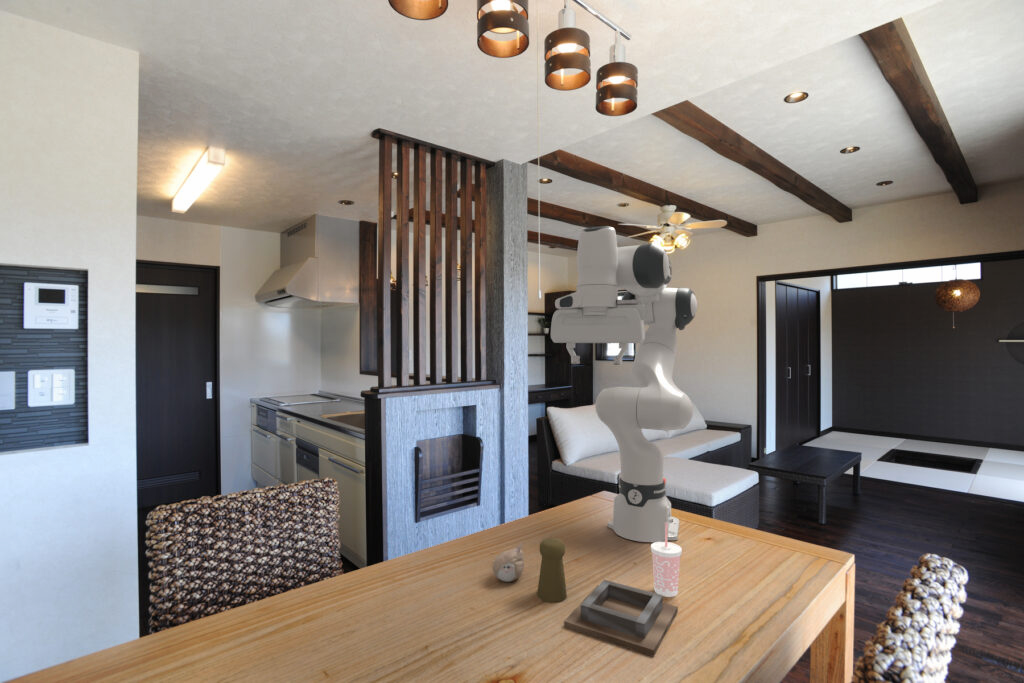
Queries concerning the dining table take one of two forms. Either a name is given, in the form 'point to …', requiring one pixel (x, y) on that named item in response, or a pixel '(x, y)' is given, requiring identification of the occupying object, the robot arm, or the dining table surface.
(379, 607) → the dining table surface
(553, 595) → the olive pawn peg
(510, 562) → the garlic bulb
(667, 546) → the beverage cup
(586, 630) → the socket base
